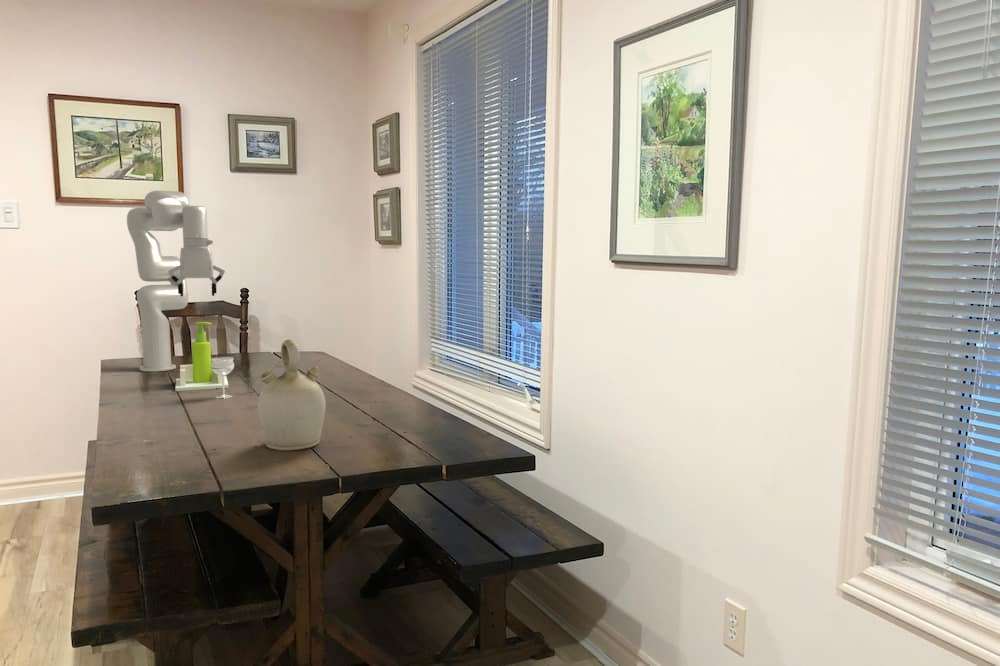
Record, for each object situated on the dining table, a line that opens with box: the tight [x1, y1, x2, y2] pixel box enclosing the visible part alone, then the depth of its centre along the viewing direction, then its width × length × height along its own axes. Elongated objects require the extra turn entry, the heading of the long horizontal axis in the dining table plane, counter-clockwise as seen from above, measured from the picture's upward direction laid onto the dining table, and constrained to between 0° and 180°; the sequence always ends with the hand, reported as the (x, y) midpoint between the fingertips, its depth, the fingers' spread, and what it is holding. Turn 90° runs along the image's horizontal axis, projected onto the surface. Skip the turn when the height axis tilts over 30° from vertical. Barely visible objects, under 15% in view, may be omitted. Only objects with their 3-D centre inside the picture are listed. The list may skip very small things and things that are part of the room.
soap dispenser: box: [191, 321, 213, 383], centre depth 249 cm, size 6×7×20 cm
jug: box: [257, 339, 327, 452], centre depth 175 cm, size 15×16×25 cm
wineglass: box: [211, 356, 235, 399], centre depth 229 cm, size 7×7×12 cm
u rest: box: [174, 364, 229, 392], centre depth 250 cm, size 18×16×6 cm
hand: (197, 295), depth 247 cm, fingers open, 9 cm apart
